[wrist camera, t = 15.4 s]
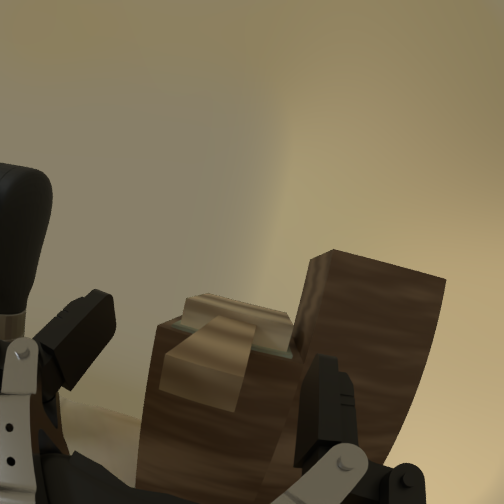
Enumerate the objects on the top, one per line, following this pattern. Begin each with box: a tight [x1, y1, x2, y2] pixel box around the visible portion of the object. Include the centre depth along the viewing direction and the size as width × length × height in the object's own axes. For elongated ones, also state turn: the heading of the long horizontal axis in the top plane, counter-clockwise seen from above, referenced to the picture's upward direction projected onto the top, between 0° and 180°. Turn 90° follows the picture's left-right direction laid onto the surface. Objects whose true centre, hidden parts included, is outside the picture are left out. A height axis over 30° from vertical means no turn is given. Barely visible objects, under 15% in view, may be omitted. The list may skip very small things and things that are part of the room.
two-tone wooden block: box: [135, 249, 446, 504], centre depth 29 cm, size 14×25×32 cm, turn 87°
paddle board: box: [159, 293, 294, 412], centre depth 23 cm, size 24×10×2 cm, turn 177°
